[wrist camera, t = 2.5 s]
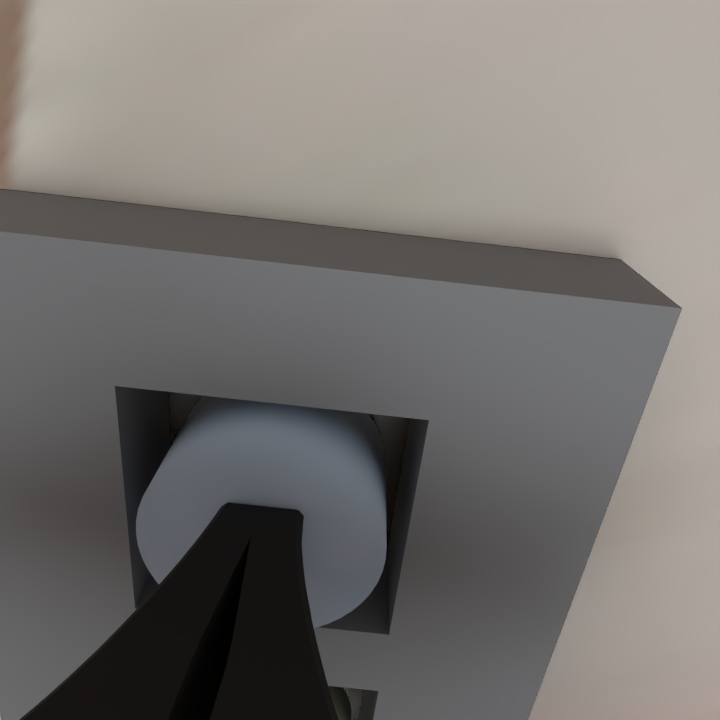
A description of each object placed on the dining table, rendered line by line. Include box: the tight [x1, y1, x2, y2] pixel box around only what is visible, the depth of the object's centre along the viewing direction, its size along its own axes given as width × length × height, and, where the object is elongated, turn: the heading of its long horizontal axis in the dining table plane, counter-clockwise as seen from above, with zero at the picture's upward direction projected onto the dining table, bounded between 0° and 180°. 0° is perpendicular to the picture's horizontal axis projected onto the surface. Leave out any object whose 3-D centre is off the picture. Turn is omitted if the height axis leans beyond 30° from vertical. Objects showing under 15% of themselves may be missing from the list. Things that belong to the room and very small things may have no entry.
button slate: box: [136, 396, 387, 628], centre depth 11 cm, size 4×4×2 cm
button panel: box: [0, 189, 682, 720], centre depth 15 cm, size 24×12×2 cm, turn 174°
